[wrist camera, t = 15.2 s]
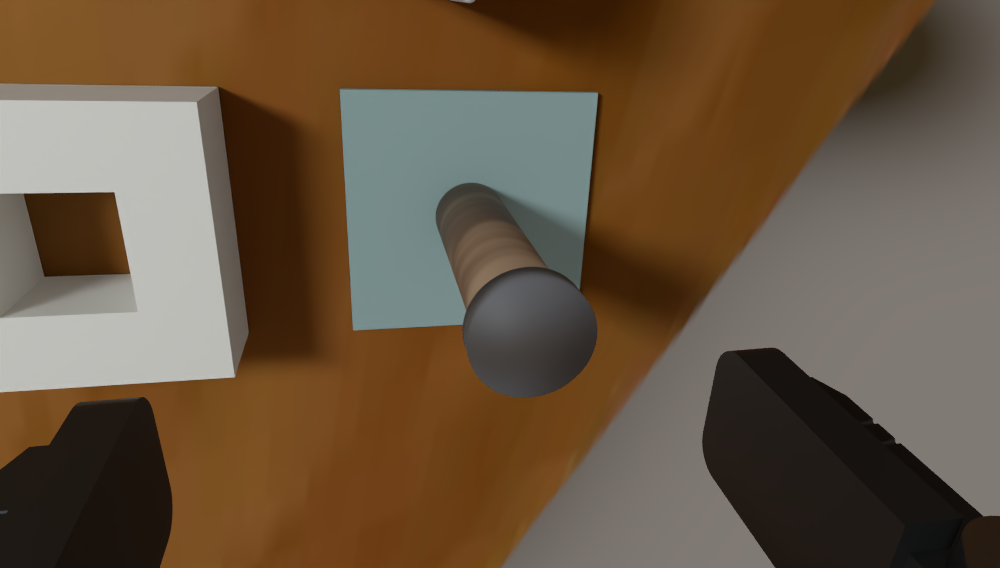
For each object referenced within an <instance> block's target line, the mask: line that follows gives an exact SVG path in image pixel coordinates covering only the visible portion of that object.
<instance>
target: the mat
mask: <svg viewBox="0 0 1000 568" xmlns="http://www.w3.org/2000/svg"><path fill="white" fill-rule="evenodd" d="M597 100H598V93H597V92H561V91H488V90H416V89H344V88H340V102H341V120H342V138H343V156H344V174H345V192H346V210H347V229H348V247H349V265H350V283H351V301H352V319H353V330H369V329H388V328H407V327H426V326H445V325H463V321H464V316H465V313H466V308H465V306H464V303H463V300H462V297H461V294H460V291H459V288H458V285H457V283H456V280H455V277H454V274H453V271H452V268H451V265H450V263H449V260H448V257H447V254H446V251H445V248H444V245H443V242H442V240H441V237H440V234H439V231H438V228H437V225H436V209H437V206H438V204H439V202H440V200H441V198H442V197H443V196H444V195H445V193H446V192H448V191H449V190H450V189H452V188H453V187H455V186H457V185H460V184H463V183H479V184H483V185H485V186H487V187H489V188H491V189H492V190H493V191H494V192H495V193H496V194H497V195H498V196H499V198H500V199H501V201H502V202H503V204H504V205H505V207H506V208H507V209H508V211H509V212H510V214H511V215H512V217H513V218H514V220H515V221H516V222H517V224H518V225H519V227H520V228H521V230H522V231H523V232H524V234H525V235H526V237H527V238H528V240H529V241H530V243H531V244H532V245H533V247H534V248H535V250H536V251H537V253H538V254H539V256H540V257H541V258H542V260H543V261H544V263H545V264H546V266H547V267H548V268H549V269H551V270H554V271H556V272H559V273H561V274H562V275H564V276H566V277H567V278H568V279H570V280H571V281H572V282H573V283H574V284H575V285H576V286H577V288H578V289H579V290H580V281H581V270H582V260H583V249H584V239H585V228H586V217H587V207H588V196H589V185H590V175H591V164H592V154H593V143H594V132H595V122H596V111H597Z"/></svg>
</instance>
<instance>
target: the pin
mask: <svg viewBox="0 0 1000 568" xmlns="http://www.w3.org/2000/svg"><path fill="white" fill-rule="evenodd" d="M436 225H437V228H438V231H439V234H440V237H441V240H442V242H443V245H444V248H445V251H446V254H447V257H448V260H449V263H450V265H451V268H452V271H453V274H454V277H455V280H456V283H457V285H458V288H459V291H460V294H461V297H462V300H463V303H464V306H465V308H466V313H465V316H464V321H463V340H464V345H465V348H466V351H467V354H468V358H469V361H470V363H471V366H472V368H473V370H474V372H475V374H476V375H477V376H478V377H479V379H480V380H481V381H482V382H483V383H484V384H485V385H487V386H488V387H490V388H491V389H493V390H495V391H497V392H498V393H501V394H504V395H508V396H512V397H521V398H526V397H536V396H541V395H545V394H548V393H551V392H553V391H556V390H558V389H560V388H562V387H563V386H565V385H566V384H568V383H569V382H570V381H572V380H573V379H574V378H575V377H576V376H577V375H578V374H579V373H580V372H581V371H582V370H583V368H584V367H585V366H586V364H587V363H588V361H589V360H590V358H591V356H592V353H593V351H594V348H595V345H596V339H597V322H596V318H595V314H594V312H593V310H592V307H591V306H590V304H589V303H588V301H587V300H586V298H585V297H584V296H583V294H582V293H581V292H580V290H579V289H578V288H577V286H576V285H575V284H574V283H573V282H572V281H571V280H570V279H568V278H567V277H566V276H564V275H562V274H561V273H559V272H556V271H554V270H551V269H549V268H548V267H547V266H546V264H545V263H544V261H543V260H542V258H541V257H540V256H539V254H538V253H537V251H536V250H535V248H534V247H533V245H532V244H531V243H530V241H529V240H528V238H527V237H526V235H525V234H524V232H523V231H522V230H521V228H520V227H519V225H518V224H517V222H516V221H515V220H514V218H513V217H512V215H511V214H510V212H509V211H508V209H507V208H506V207H505V205H504V204H503V202H502V201H501V199H500V198H499V196H498V195H497V194H496V193H495V192H494V191H493V190H492V189H491V188H489V187H487V186H485V185H483V184H479V183H463V184H460V185H457V186H455V187H453V188H452V189H450V190H449V191H448V192H446V193H445V195H444V196H443V197H442V198H441V200H440V202H439V204H438V206H437V209H436Z"/></svg>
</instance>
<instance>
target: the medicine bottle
mask: <svg viewBox="0 0 1000 568" xmlns="http://www.w3.org/2000/svg"><path fill="white" fill-rule="evenodd" d="M451 1H457V2H464V3H472V2H474V1H475V0H451Z"/></svg>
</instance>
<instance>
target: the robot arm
mask: <svg viewBox="0 0 1000 568" xmlns="http://www.w3.org/2000/svg"><path fill="white" fill-rule="evenodd" d="M702 444H703V453H704V458H705V462H706V465H707V468H708V470H709V472H710V474H711V476H712V477H713V479H714V480H715V482H716V483H717V485H718V486H719V487H720V489H721V490H722V492H723V493H724V495H725V496H726V497H727V499H728V500H729V502H730V503H731V505H732V506H733V508H734V509H735V510H736V512H737V513H738V515H739V516H740V518H741V519H742V521H743V522H744V523H745V525H746V526H747V528H748V529H749V531H750V532H751V533H752V535H753V536H754V538H755V539H756V541H757V542H758V544H759V545H760V546H761V548H762V549H763V551H764V552H765V554H766V555H767V556H768V558H769V559H770V561H771V562H772V564H773V565H774V566H775V568H1000V516H984V517H983V516H982V515H981V514H980V513H979V512H978V511H977V510H976V509H975V508H973V507H972V506H971V505H970V504H969V503H968V502H966V501H965V500H964V499H963V498H962V497H961V496H960V495H959V494H957V493H956V492H955V491H954V490H953V489H952V488H951V487H950V486H948V485H947V484H946V483H945V482H944V481H943V480H942V479H941V478H939V477H938V476H937V475H936V474H934V472H933V471H931V470H930V469H929V468H928V467H927V466H926V465H925V464H923V463H922V462H921V461H920V460H919V459H918V458H917V457H916V456H914V455H913V454H912V453H911V452H910V451H909V450H908V449H906V448H905V447H904V446H903V445H902V444H901V443H900V444H896V443H895V438H894V437H893V436H892V435H891V434H889V433H888V432H887V431H886V430H885V429H884V428H883V427H881V426H880V425H879V424H874V423H873V419H872V418H871V417H870V416H869V415H868V414H867V413H866V412H864V411H863V410H862V409H861V408H860V407H859V406H858V405H856V404H855V403H854V402H853V401H852V400H851V399H850V398H848V397H847V396H846V395H844V394H842V393H840V392H838V391H837V390H835V389H833V388H831V387H829V386H827V385H825V384H824V383H822V382H820V381H818V380H816V379H814V378H813V377H809V376H808V375H807V374H806V373H805V372H804V371H803V370H801V369H800V368H799V367H798V366H797V365H796V364H795V363H794V362H793V361H792V360H790V359H789V358H788V357H787V356H786V355H785V354H784V353H783V352H781V351H780V350H778V349H776V348H762V349H749V350H737V351H727V352H725V353H723V354H722V355H721V356H720V358H719V360H718V363H717V366H716V371H715V376H714V381H713V386H712V391H711V396H710V401H709V406H708V411H707V416H706V421H705V426H704V431H703V440H702ZM171 524H172V493H171V487H170V483H169V478H168V474H167V470H166V466H165V461H164V457H163V453H162V448H161V444H160V440H159V436H158V431H157V427H156V423H155V418H154V414H153V410H152V407H151V405H150V403H149V401H148V400H147V399H146V398H144V397H139V398H126V399H114V400H102V401H89V402H80V403H77V404H76V405H75V406H74V407H73V408H72V410H71V411H70V413H69V414H68V416H67V418H66V419H65V421H64V422H63V424H62V426H61V427H60V429H59V430H58V432H57V434H56V435H55V437H54V438H53V440H52V442H51V443H50V445H47V446H36V447H29V448H28V449H26V450H25V451H24V452H22V453H21V454H20V455H19V456H17V457H16V458H15V459H13V460H12V461H11V462H10V463H8V464H7V465H6V466H5V467H3V468H2V469H1V470H0V568H160V565H161V562H162V559H163V555H164V552H165V549H166V546H167V543H168V540H169V536H170V531H171Z"/></svg>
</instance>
